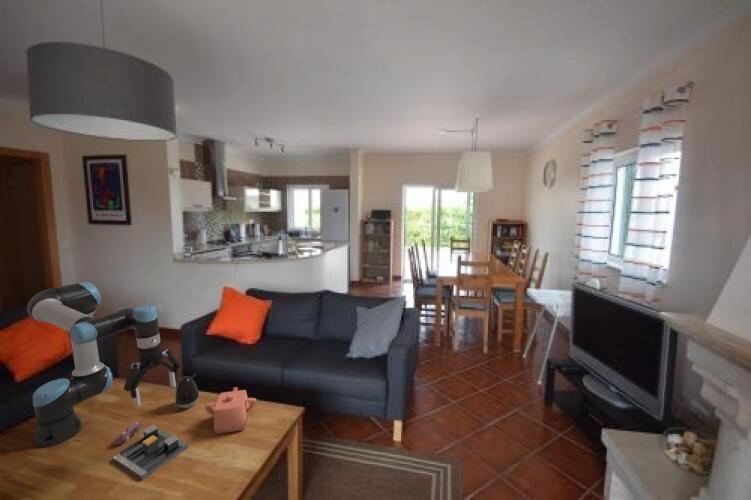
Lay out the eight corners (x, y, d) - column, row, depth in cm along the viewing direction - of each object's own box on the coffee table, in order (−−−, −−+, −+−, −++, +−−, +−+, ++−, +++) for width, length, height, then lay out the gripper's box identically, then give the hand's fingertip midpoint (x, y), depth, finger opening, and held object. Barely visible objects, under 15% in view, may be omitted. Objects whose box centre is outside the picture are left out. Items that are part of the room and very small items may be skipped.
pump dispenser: (204, 402, 169) (201, 375, 166) (183, 414, 160) (180, 385, 158) (192, 396, 174) (190, 369, 172) (172, 407, 166) (168, 378, 163)
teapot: (255, 430, 150) (253, 401, 147) (202, 437, 145) (199, 408, 143) (260, 403, 169) (259, 377, 166) (213, 409, 164) (211, 383, 162)
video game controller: (121, 449, 140) (125, 437, 139) (112, 444, 141) (116, 431, 139) (141, 433, 150) (145, 421, 148) (133, 428, 150) (137, 416, 149)
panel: (113, 460, 133) (111, 446, 132) (159, 432, 148) (158, 419, 147) (142, 480, 124) (140, 465, 123) (188, 447, 139) (187, 434, 138)
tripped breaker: (143, 452, 135) (142, 441, 134) (154, 445, 138) (152, 435, 137) (148, 454, 133) (146, 444, 132) (158, 448, 137) (157, 437, 136)
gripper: (117, 361, 119) (126, 415, 122) (186, 334, 140) (191, 381, 144) (107, 356, 122) (115, 409, 126) (175, 331, 144) (181, 377, 147)
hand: (156, 394), depth 135 cm, fingers open, 13 cm apart
